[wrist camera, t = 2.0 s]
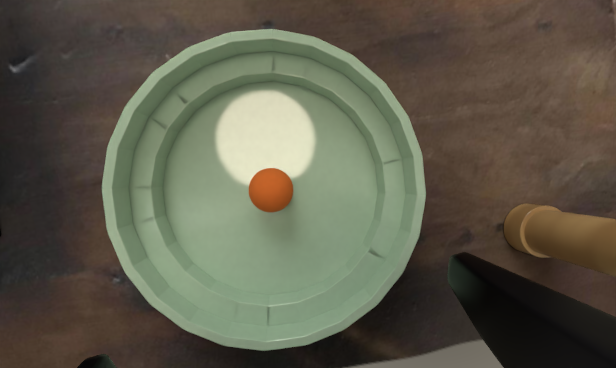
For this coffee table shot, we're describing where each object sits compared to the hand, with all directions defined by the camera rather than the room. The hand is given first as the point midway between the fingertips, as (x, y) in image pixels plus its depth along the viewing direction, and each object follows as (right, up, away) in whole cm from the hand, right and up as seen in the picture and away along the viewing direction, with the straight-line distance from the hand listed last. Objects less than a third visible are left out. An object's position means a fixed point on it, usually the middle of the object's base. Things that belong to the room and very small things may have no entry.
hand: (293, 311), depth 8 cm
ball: (-2, +3, +13) cm, 13 cm away
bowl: (-2, +3, +15) cm, 16 cm away
